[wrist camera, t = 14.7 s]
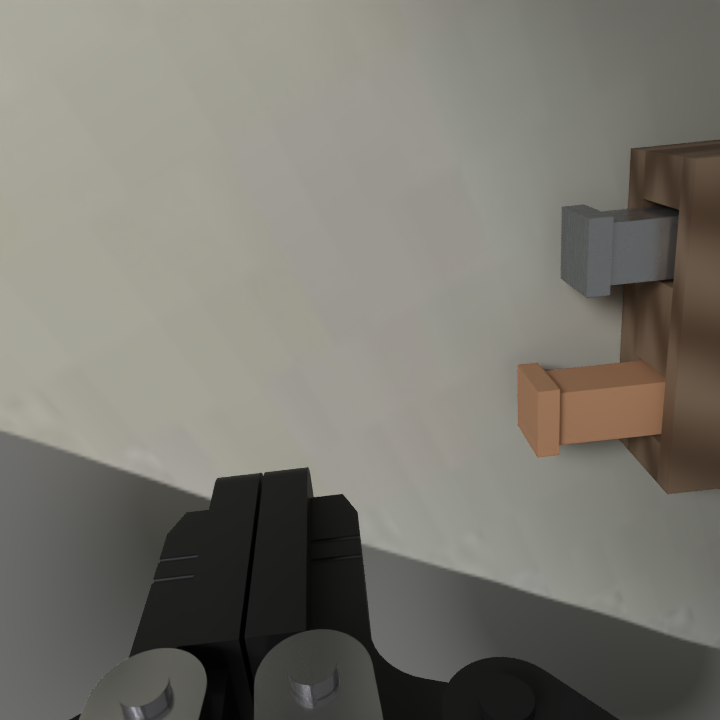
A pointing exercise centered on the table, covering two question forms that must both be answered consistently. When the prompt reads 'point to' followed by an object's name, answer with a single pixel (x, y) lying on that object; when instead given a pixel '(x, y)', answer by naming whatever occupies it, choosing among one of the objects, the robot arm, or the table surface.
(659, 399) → the rust plug
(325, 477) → the table surface
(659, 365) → the socket block
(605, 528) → the table surface
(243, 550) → the robot arm
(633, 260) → the grey plug
